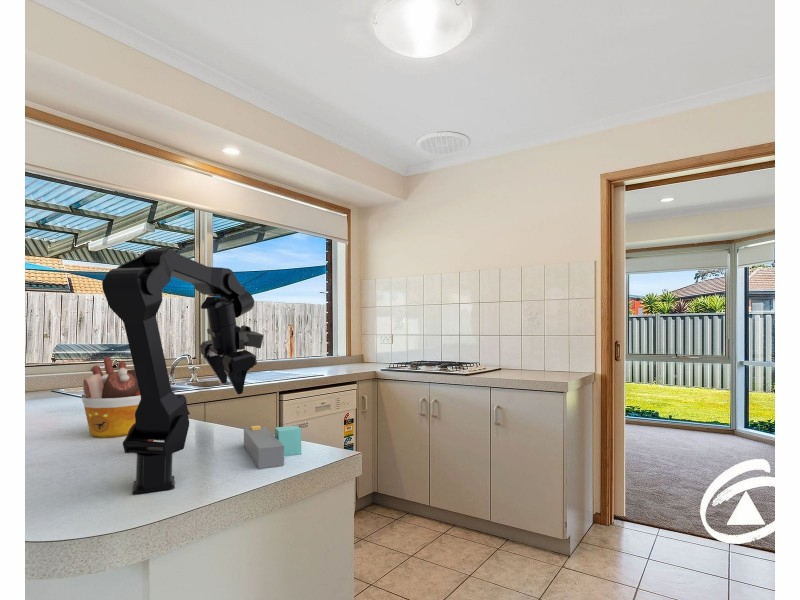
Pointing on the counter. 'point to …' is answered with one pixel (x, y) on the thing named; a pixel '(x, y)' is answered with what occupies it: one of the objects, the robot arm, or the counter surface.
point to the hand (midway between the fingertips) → (231, 388)
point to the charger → (289, 439)
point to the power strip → (263, 447)
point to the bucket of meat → (111, 400)
